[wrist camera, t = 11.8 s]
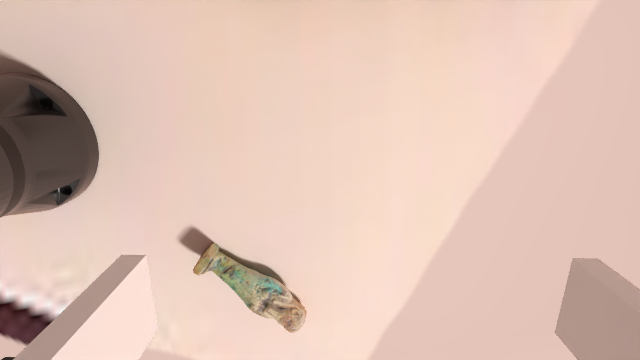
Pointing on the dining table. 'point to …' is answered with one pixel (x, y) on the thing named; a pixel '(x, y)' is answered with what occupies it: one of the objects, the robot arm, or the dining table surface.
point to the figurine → (254, 289)
